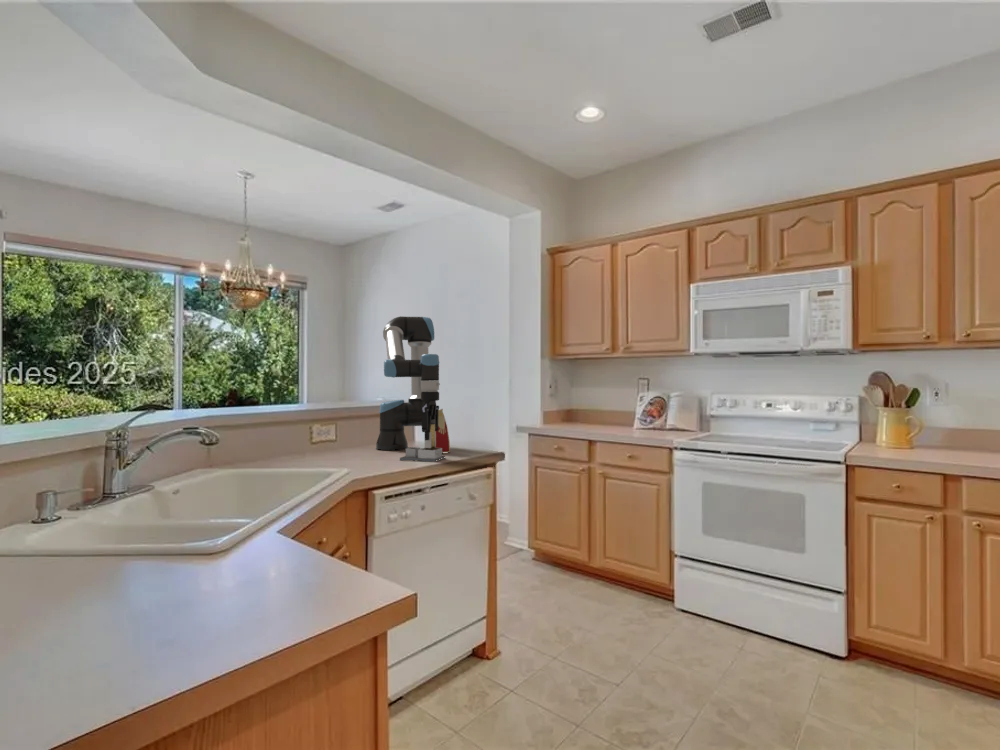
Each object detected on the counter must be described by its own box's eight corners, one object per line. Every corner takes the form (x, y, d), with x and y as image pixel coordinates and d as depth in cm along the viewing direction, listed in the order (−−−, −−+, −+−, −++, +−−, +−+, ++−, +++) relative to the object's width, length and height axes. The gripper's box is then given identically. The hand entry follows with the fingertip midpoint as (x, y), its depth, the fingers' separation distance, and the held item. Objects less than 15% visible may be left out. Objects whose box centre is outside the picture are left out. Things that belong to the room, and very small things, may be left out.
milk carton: (442, 450, 242) (442, 408, 242) (450, 453, 234) (450, 408, 234) (424, 452, 237) (424, 408, 237) (432, 454, 229) (432, 409, 229)
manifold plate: (410, 456, 223) (410, 446, 223) (445, 458, 218) (445, 447, 218) (399, 460, 213) (399, 449, 213) (435, 461, 209) (435, 450, 209)
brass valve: (427, 452, 217) (427, 418, 217) (436, 452, 216) (436, 419, 216) (423, 453, 213) (423, 419, 214) (432, 453, 212) (432, 419, 212)
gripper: (429, 391, 206) (430, 450, 206) (446, 390, 222) (446, 445, 222) (412, 391, 208) (412, 449, 208) (430, 390, 224) (430, 444, 224)
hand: (430, 447), depth 215 cm, fingers closed on brass valve, 4 cm apart
